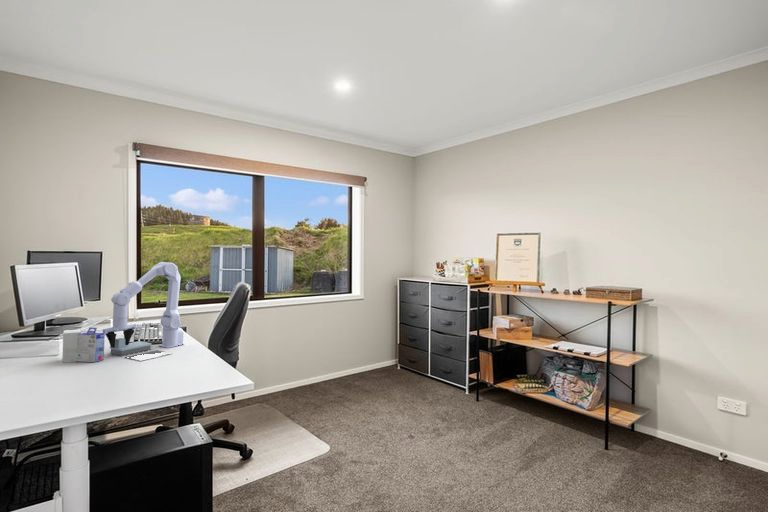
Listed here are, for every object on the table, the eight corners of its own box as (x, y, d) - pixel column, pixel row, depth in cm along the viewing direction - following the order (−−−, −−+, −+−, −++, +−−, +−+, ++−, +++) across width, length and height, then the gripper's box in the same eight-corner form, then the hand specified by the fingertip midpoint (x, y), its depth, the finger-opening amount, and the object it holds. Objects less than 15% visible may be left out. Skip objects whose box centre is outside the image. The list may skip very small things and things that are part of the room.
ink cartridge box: (104, 359, 184) (105, 327, 184) (95, 362, 179) (96, 329, 179) (84, 358, 185) (84, 326, 185) (74, 361, 179) (75, 328, 179)
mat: (157, 350, 202) (157, 350, 202) (172, 354, 197) (172, 353, 197) (124, 357, 188) (124, 357, 188) (140, 361, 183) (140, 360, 183)
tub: (139, 347, 207) (139, 342, 207) (150, 350, 203) (150, 345, 203) (110, 353, 194) (110, 348, 194) (121, 356, 190) (122, 350, 190)
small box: (80, 361, 180) (81, 332, 180) (62, 363, 176) (62, 333, 176) (80, 357, 187) (81, 328, 187) (62, 359, 183) (63, 330, 183)
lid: (139, 342, 207) (139, 333, 207) (151, 345, 203) (151, 335, 203) (109, 348, 194) (109, 338, 194) (121, 351, 190) (122, 340, 190)
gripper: (130, 315, 202) (129, 342, 202) (99, 319, 189) (98, 348, 189) (139, 316, 199) (138, 344, 199) (108, 320, 186) (107, 350, 186)
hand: (119, 346), depth 194 cm, fingers open, 6 cm apart
